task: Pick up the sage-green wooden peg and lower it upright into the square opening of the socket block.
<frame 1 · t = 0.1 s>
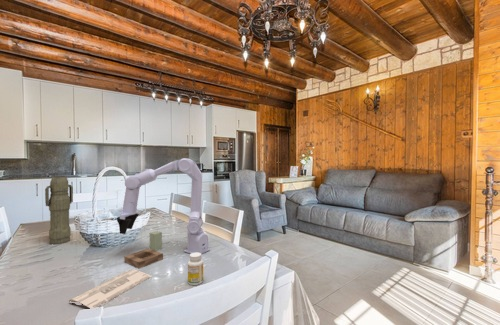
hand: (126, 231, 110), 11 cm above the table, tool pointing down, fingers open, 7 cm apart
socket block: (144, 260, 102), on the table
newspaper: (111, 291, 79), on the table
peg: (155, 249, 115), on the table
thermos: (60, 242, 127), on the table
supplement bottle: (195, 282, 83), on the table
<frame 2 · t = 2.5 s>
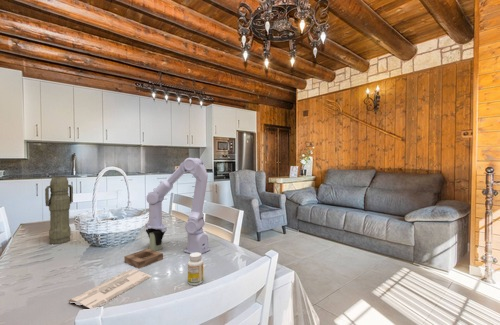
hand: (155, 244, 115), 2 cm above the table, tool pointing down, fingers closed on peg, 4 cm apart
peg: (155, 249, 115), on the table, touching gripper
everything else where it was.
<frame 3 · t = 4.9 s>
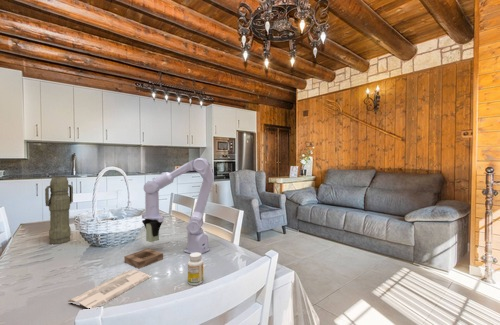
hand: (152, 235, 111), 8 cm above the table, tool pointing down, fingers closed on peg, 4 cm apart
peg: (152, 240, 111), point 5 cm above the table, touching gripper
everything else where it was.
when the fingers open (4 cm above the table, at t = 7.1 s): peg drops 2 cm, resting in socket block.
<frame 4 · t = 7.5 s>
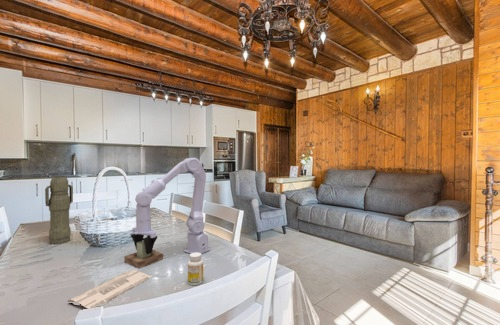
hand: (143, 251, 102), 4 cm above the table, tool pointing down, fingers open, 7 cm apart
peg: (144, 260, 102), resting in socket block
everything else where it was.
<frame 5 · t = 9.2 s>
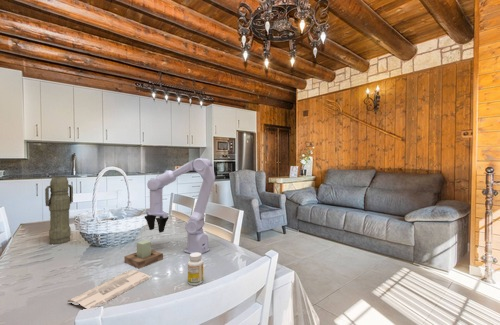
hand: (156, 230, 115), 9 cm above the table, tool pointing down, fingers open, 7 cm apart
nothing on the table moved.
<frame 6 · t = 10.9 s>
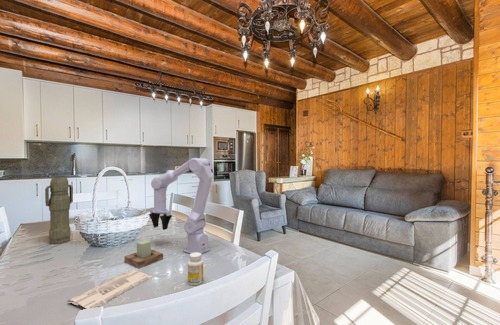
hand: (160, 228, 120), 9 cm above the table, tool pointing down, fingers open, 7 cm apart
nothing on the table moved.
at the end: peg 0.0 cm off-centre on the socket block, point 0.0 cm above the socket block's base; peg tilted 0°; the gripper is holding nothing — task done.
